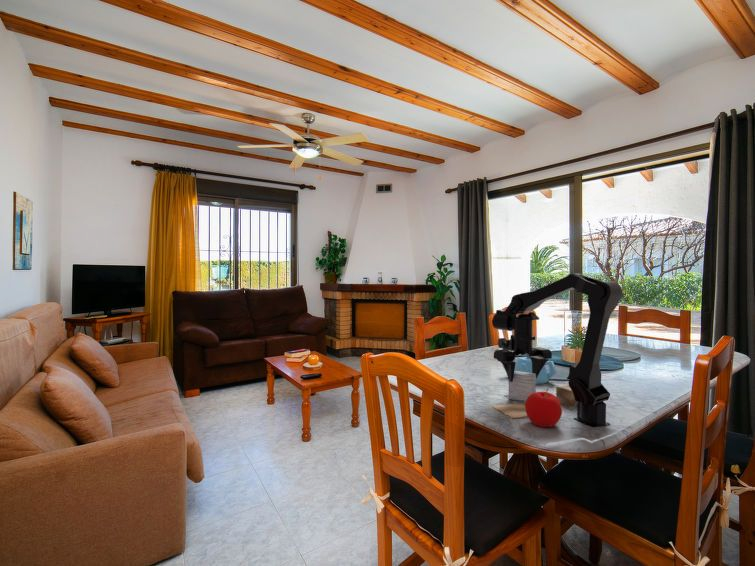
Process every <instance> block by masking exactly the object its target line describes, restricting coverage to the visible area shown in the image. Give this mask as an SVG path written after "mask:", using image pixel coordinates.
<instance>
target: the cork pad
mask: <svg viewBox="0 0 755 566" xmlns="http://www.w3.org/2000/svg"><path fill="white" fill-rule="evenodd" d="M492 408H493V409H495V410H497V411H499V412H500V413H502V414H505V415H506V416H507V417H509V418H511V419H513V420H515V419H523V418H528V416H527V413H526V410H525V405H522V404H520V403H518V402H515V403H507V404H498V405H492Z"/></svg>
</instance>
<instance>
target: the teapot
mask: <svg viewBox="0 0 755 566" xmlns="http://www.w3.org/2000/svg"><path fill="white" fill-rule="evenodd" d="M514 362H516V364H515V370H514V371H520V372H528V373H532V361H531V359H530V357H516V358H515V360H514ZM546 366H548V368H549V372H548V369H547V367H546ZM557 374H558V372H557V369H556V366H555V363H554V360H549V361H547V362H546V363H545V365H544V366H543V368H542V369H541V371H540V373H539V375H538V377H537V378H536V385H541V384H546V383H548V382H549V380H550V379H551V378H552V377H554V376H555V375H557Z"/></svg>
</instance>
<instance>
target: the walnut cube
mask: <svg viewBox="0 0 755 566" xmlns="http://www.w3.org/2000/svg"><path fill="white" fill-rule="evenodd" d="M555 388H556V389H555V393H556V394H555V396H556V397H557V399H558V400H559V402H560V404H561V405H565V406H567V407H571V408H572V407H574V406H577V403H578V402H577V401H576V400H575V397H574V394H573V391H572V390H571V388H570V387H569V384H562V385H557V386H556V387H555Z"/></svg>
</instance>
